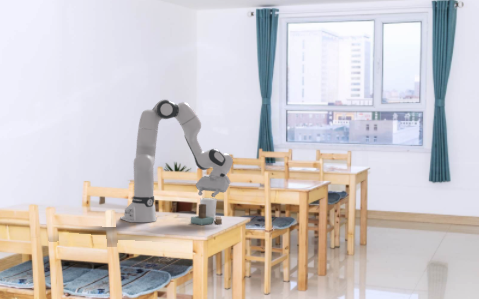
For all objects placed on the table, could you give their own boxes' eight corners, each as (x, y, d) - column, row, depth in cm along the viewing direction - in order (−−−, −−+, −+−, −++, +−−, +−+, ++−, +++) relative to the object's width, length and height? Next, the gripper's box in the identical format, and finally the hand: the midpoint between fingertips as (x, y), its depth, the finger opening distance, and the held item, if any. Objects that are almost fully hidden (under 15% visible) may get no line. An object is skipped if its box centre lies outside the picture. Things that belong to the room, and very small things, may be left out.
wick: (215, 221, 349) (215, 216, 349) (220, 221, 349) (220, 216, 349) (216, 224, 339) (216, 219, 339) (221, 224, 339) (221, 219, 339)
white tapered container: (214, 220, 350) (214, 200, 350) (197, 219, 352) (198, 199, 352) (217, 218, 360) (218, 198, 359) (202, 217, 362) (202, 197, 361)
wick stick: (198, 221, 340) (198, 204, 340) (201, 221, 343) (201, 203, 342) (202, 222, 338) (202, 204, 338) (205, 221, 341) (206, 204, 340)
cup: (190, 223, 340) (191, 217, 340) (202, 221, 347) (202, 215, 347) (201, 225, 334) (201, 219, 334) (213, 223, 341) (213, 217, 340)
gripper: (200, 172, 354) (189, 190, 346) (228, 175, 343) (218, 193, 335) (204, 179, 358) (194, 197, 350) (232, 182, 347) (222, 200, 339)
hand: (206, 195), depth 343 cm, fingers open, 8 cm apart
